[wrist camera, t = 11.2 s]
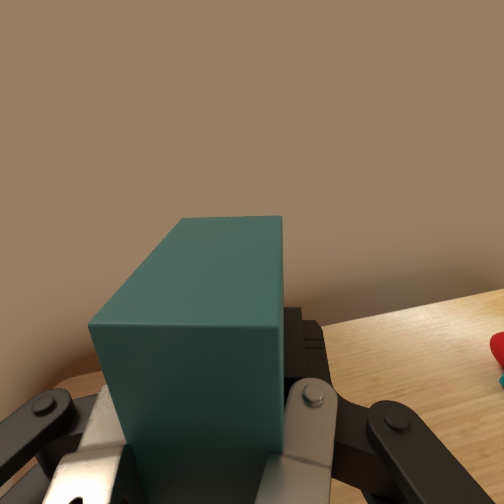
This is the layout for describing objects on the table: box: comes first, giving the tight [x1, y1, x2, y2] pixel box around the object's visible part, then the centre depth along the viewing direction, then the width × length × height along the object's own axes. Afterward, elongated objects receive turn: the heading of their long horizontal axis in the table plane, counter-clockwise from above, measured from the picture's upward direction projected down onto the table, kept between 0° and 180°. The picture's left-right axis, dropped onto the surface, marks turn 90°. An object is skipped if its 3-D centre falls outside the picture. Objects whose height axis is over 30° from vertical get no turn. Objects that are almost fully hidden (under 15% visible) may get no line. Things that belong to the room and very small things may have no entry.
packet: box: [88, 216, 284, 504], centre depth 11 cm, size 4×6×13 cm, turn 175°
